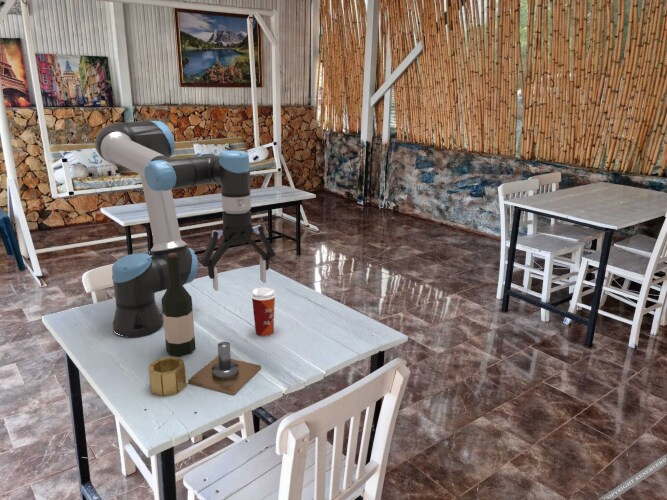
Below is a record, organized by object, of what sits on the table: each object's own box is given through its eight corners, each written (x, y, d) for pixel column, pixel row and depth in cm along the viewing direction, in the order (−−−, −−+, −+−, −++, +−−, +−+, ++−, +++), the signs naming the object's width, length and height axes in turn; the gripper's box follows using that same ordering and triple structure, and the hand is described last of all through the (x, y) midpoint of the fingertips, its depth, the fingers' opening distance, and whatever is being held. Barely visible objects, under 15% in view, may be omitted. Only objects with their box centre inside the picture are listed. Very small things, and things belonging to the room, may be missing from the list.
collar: (143, 390, 135) (141, 370, 133) (165, 374, 143) (163, 354, 141) (171, 398, 132) (169, 377, 130) (192, 381, 140) (191, 361, 138)
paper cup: (272, 338, 163) (271, 297, 159) (248, 336, 165) (247, 295, 160) (279, 327, 170) (278, 287, 166) (257, 325, 172) (255, 285, 167)
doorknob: (188, 383, 139) (185, 351, 136) (218, 358, 151) (216, 328, 148) (233, 395, 134) (232, 362, 131) (261, 368, 146) (260, 338, 143)
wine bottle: (180, 359, 150) (171, 261, 141) (160, 352, 155) (150, 255, 145) (201, 348, 157) (194, 252, 148) (182, 340, 161) (173, 247, 152)
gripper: (192, 218, 130) (198, 297, 137) (285, 209, 141) (286, 282, 148) (185, 211, 137) (191, 287, 143) (275, 203, 147) (277, 273, 154)
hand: (239, 285), depth 146 cm, fingers open, 13 cm apart
